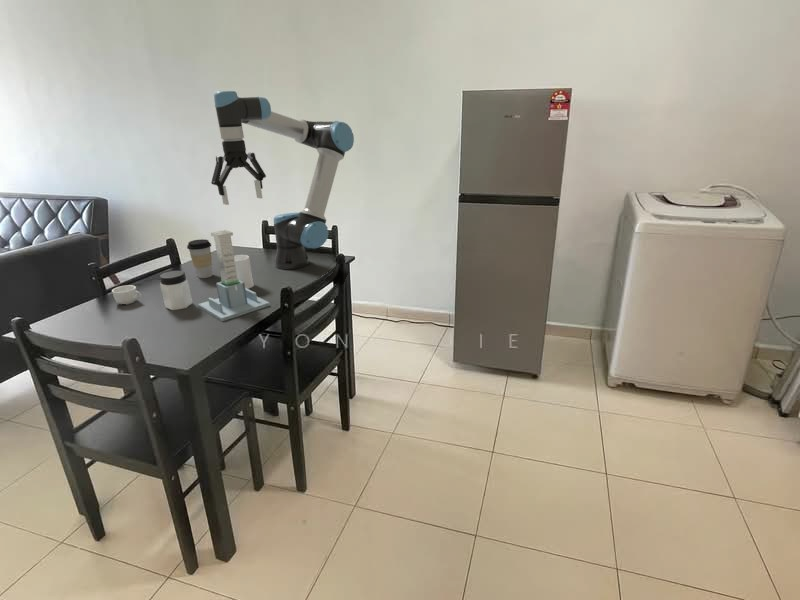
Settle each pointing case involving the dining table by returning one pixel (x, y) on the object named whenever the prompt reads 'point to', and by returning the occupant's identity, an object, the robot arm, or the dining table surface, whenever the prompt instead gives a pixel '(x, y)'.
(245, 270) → the mug
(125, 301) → the teacup
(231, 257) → the column
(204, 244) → the coffee cup
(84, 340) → the dining table surface
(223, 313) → the stand base
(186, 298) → the jar
